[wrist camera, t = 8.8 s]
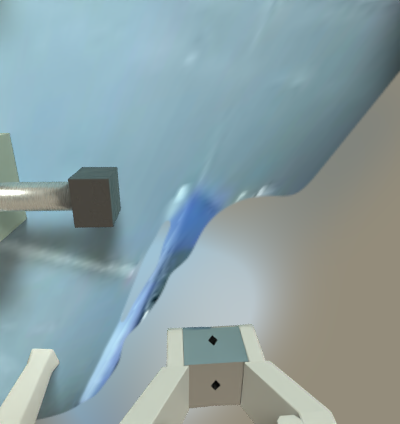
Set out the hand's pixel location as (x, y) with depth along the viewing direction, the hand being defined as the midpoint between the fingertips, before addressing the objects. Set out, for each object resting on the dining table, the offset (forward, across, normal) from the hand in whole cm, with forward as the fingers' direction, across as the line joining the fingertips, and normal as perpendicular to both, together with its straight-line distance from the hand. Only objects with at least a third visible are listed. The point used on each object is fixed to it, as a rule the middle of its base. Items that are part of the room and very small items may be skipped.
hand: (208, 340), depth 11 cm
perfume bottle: (+23, +18, +24) cm, 38 cm away
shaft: (+19, +17, 0) cm, 25 cm away
